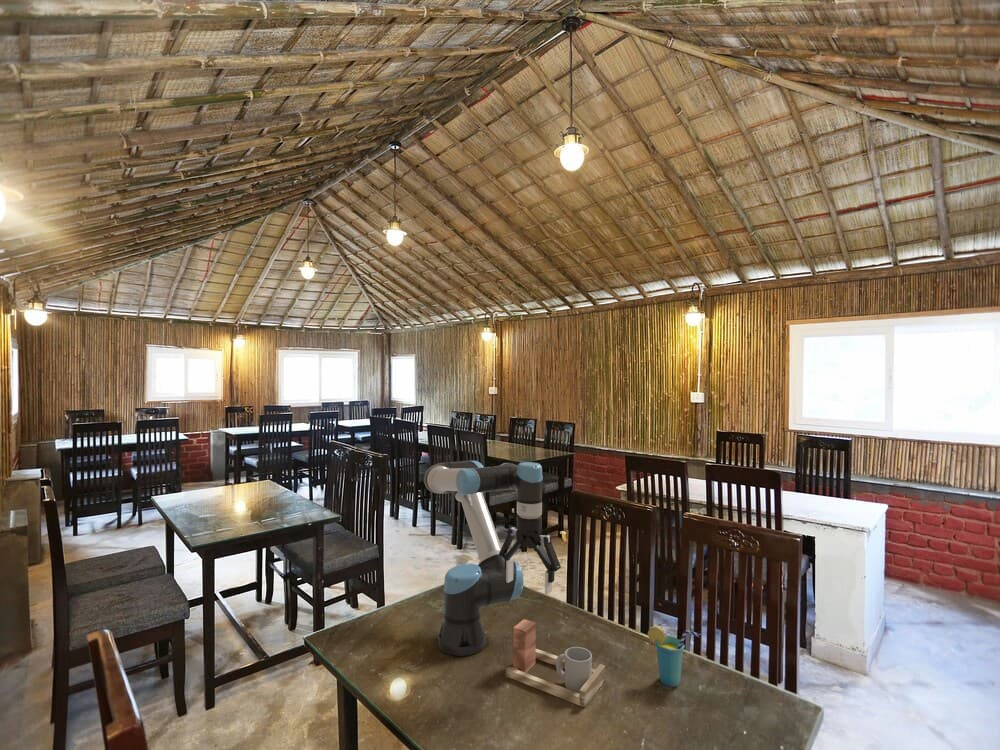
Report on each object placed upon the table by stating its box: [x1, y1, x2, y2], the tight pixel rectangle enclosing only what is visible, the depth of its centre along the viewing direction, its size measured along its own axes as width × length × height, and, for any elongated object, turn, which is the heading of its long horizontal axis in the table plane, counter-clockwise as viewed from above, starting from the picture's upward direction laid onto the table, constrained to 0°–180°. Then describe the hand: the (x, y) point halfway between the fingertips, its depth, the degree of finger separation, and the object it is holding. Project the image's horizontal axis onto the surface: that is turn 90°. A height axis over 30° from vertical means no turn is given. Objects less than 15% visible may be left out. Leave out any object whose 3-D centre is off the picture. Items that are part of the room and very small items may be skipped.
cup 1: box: [555, 646, 593, 694], centre depth 134 cm, size 7×10×9 cm
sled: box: [505, 618, 606, 708], centre depth 137 cm, size 24×14×12 cm, turn 57°
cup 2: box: [647, 626, 701, 688], centre depth 136 cm, size 14×8×15 cm, turn 70°
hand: (528, 586), depth 145 cm, fingers open, 13 cm apart
